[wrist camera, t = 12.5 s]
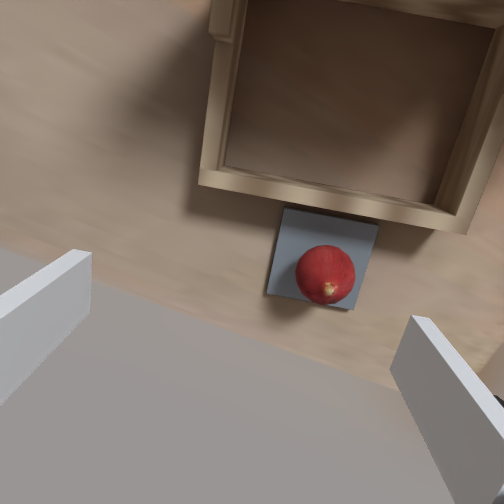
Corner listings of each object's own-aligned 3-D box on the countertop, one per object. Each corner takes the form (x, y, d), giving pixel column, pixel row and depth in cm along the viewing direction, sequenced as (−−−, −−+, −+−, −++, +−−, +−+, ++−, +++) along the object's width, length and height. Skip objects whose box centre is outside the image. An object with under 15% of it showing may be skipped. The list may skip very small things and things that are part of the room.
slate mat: (266, 289, 41) (266, 293, 40) (284, 206, 38) (284, 208, 37) (351, 305, 41) (353, 310, 40) (376, 223, 38) (379, 226, 37)
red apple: (349, 283, 39) (366, 319, 32) (297, 288, 40) (301, 325, 32) (346, 232, 37) (362, 259, 30) (291, 239, 38) (294, 266, 30)
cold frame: (208, 177, 37) (190, 189, 30) (236, -39, 31) (222, -93, 23) (442, 221, 37) (483, 245, 30) (519, 12, 31) (597, -26, 23)
